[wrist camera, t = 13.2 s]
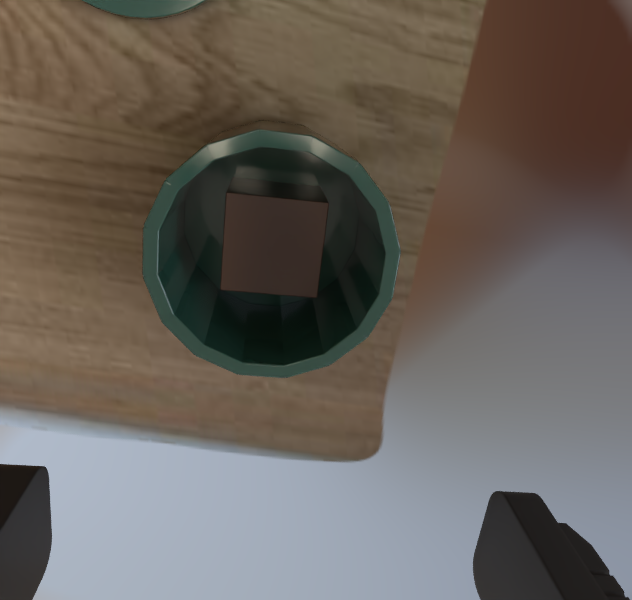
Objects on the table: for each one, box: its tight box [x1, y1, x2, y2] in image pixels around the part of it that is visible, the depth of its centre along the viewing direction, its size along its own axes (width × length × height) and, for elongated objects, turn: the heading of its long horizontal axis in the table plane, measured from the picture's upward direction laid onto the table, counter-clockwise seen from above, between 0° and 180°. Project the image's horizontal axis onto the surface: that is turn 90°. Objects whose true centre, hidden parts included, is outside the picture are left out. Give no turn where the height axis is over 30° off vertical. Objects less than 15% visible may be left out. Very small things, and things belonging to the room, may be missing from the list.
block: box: [220, 177, 329, 298], centre depth 30 cm, size 5×5×5 cm
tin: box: [142, 120, 401, 378], centre depth 29 cm, size 11×11×8 cm
